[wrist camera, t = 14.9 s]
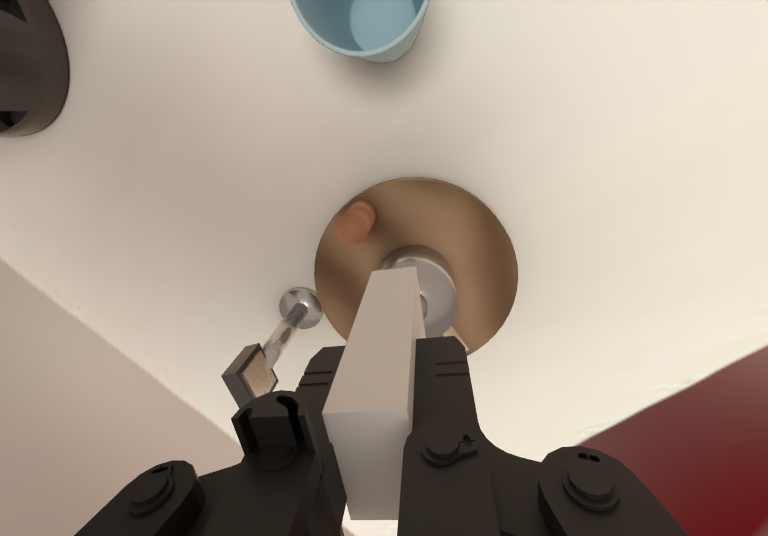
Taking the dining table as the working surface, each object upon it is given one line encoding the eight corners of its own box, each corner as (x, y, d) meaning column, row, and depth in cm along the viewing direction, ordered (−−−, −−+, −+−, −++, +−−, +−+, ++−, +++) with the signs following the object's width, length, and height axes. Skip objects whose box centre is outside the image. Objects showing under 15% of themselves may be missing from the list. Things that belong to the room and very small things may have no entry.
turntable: (390, 384, 39) (384, 430, 33) (281, 250, 35) (251, 275, 29) (550, 302, 34) (575, 340, 28) (443, 132, 30) (446, 134, 24)
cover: (403, 329, 35) (398, 364, 30) (360, 271, 33) (347, 298, 28) (469, 293, 33) (476, 325, 28) (426, 229, 31) (425, 250, 26)
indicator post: (292, 330, 39) (227, 425, 27) (274, 293, 38) (198, 376, 25) (329, 320, 38) (281, 414, 26) (313, 282, 37) (253, 362, 24)
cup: (392, 100, 30) (374, 88, 20) (315, 36, 29) (256, -10, 19) (455, 9, 27) (468, -56, 17) (372, -65, 26) (338, -177, 16)
